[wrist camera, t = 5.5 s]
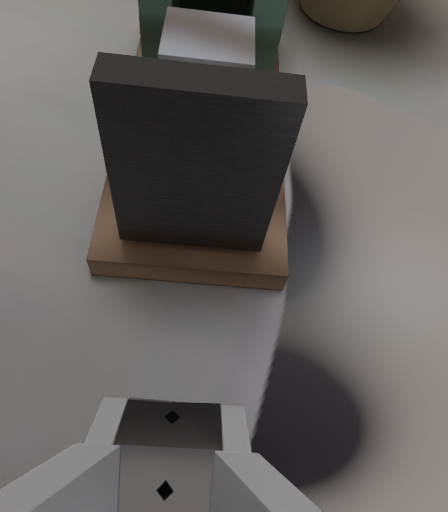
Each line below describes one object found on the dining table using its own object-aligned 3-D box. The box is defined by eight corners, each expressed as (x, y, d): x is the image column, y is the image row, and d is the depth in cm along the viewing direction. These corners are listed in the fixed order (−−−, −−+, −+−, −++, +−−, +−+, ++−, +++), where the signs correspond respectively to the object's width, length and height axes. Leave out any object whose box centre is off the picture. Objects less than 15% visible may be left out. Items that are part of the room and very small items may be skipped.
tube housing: (282, 289, 23) (332, 183, 16) (91, 274, 22) (51, 155, 15) (272, 38, 35) (298, -87, 28) (149, 24, 34) (142, -108, 27)
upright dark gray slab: (260, 251, 22) (307, 104, 14) (119, 239, 21) (89, 80, 14) (259, 81, 29) (289, -78, 21) (154, 69, 28) (146, -98, 21)
